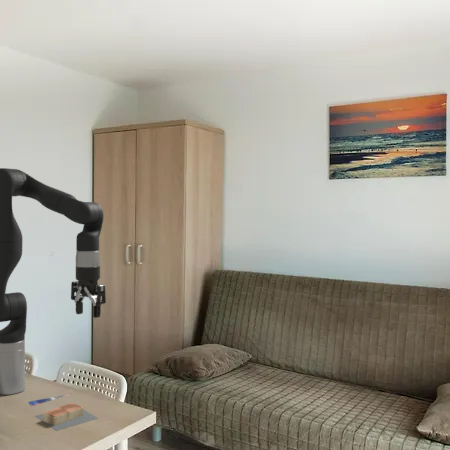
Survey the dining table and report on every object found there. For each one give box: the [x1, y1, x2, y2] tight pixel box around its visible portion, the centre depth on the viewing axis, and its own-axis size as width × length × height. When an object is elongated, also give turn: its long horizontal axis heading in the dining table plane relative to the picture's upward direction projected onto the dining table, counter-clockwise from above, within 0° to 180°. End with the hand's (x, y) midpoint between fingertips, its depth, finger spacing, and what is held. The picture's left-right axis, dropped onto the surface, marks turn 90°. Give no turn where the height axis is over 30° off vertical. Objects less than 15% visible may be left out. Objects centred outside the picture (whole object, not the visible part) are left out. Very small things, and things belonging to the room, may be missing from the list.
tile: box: [42, 402, 84, 426], centre depth 153 cm, size 6×2×10 cm
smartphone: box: [27, 392, 73, 407], centre depth 167 cm, size 7×1×15 cm
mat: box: [35, 408, 99, 432], centre depth 154 cm, size 14×13×1 cm
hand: (87, 315), depth 166 cm, fingers open, 8 cm apart
